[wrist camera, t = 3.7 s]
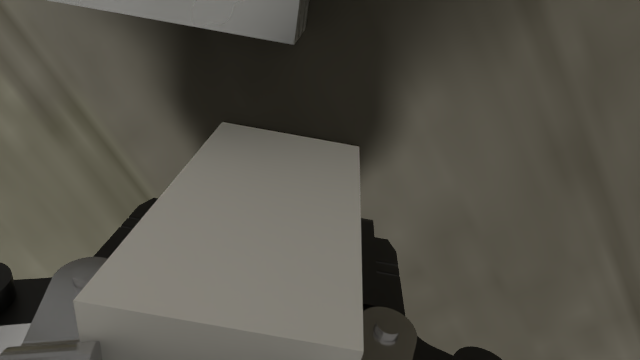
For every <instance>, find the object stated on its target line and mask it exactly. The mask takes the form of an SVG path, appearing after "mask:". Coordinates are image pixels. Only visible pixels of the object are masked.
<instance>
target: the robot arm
mask: <svg viewBox="0 0 640 360" xmlns="http://www.w3.org/2000/svg"><path fill="white" fill-rule="evenodd" d="M157 199H158V198H153V199H151V200H149V201H147V202H145V203H143V204H141V205H139V206H138V207H137V208H136V209H135V211H134V212H133V213H132V214H131V215H130V216H129V219H128V218H127V220H126V221H125V222H124V223H123V224H122V226H121V227H119V228H118V230H117V231H116V232H115V233H114V234H113V235H112V236H111V237H110V239H109V240H108V241H107V242H106V243H105V244H104V245H103V246H102V248H101V249H100V250H99V251H98V252H97V253H96V254H95V255H94V257H87V258H82V259H78V260H75V261H72V262H70V263H68V264H66V265H64V266H63V267H61V268H60V269H59V270H58V271H57V272H56V273H55V274H54V276H53V277H52V278H40V279H23V280H13V276H12V272H11V270H10V268H9V267H8V266H7V265H5V264H3V263H0V360H102V354H101V346H100V341H85V342H80V340H79V334H78V328H77V322H76V315H75V309H74V303H73V300H74V299H75V298H76V296H77V295H78V294H79V293H80V292H81V290H82V289H83V288H84V287H85V286H86V284H87V283H88V282H89V281H90V280H91V278H92V277H93V276H94V275H95V274H96V272H97V271H98V270H99V269H100V268H101V266H102V265H103V264H104V263H105V262H106V260H107V259H108V258H109V257H110V256H111V254H112V253H113V252H114V251H115V250H116V248H117V247H118V246H119V245H120V244H121V242H122V241H123V240H124V239H125V238H126V237H127V235H128V234H129V233H130V232H131V231H132V229H133V228H134V227H135V226H136V225H137V223H138V222H139V221H140V220H141V219H142V217H143V216H144V215H145V214H146V213H147V211H148V210H149V209H150V208H151V207H152V205H153V204H154V203H155V202H156V201H157ZM361 249H362V296H363V343H364V352H363V355H362V359H361V360H502V359H501V358H499V357H498V356H496V355H495V354H493V353H491V352H490V351H487V350H485V349H482V348H478V347H464V348H461V349H459V350H458V351H457V352H456V353H455V354H454V356H453V355H450V354H448V353H446V352H444V351H442V350H439V349H437V348H435V347H433V346H431V345H429V344H427V343H426V342H424V341H423V340H421V339H420V338H419V337H418V336H417V333H416V330H415V328H414V326H413V324H412V323H411V322H410V321H409V320H408V319H407V318H406V317H405V311H404V304H403V297H402V290H401V283H400V277H399V269H398V262H397V255H396V251H395V249H394V248H393V247H392V245H391V244H390V242H389V241H388V240H387V239H381V238H375V237H374V226H373V220H369V219H363V218H361Z"/></svg>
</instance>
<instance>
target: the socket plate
mask: <svg viewBox="0 0 640 360" xmlns="http://www.w3.org/2000/svg"><path fill="white" fill-rule="evenodd" d="M49 1H54V2H60V3H65V4H71V5H76V6H82V7H87V8H93V9H98V10H104V11H109V12H115V13H121V14H126V15H132V16H137V17H143V18H148V19H154V20H159V21H165V22H170V23H176V24H181V25H187V26H193V27H198V28H204V29H209V30H215V31H220V32H226V33H231V34H237V35H242V36H248V37H253V38H259V39H264V40H270V41H276V42H281V43H287V44H292V45H294V44H295V43H296V41H297V40H298V39H299V37H300V36H301V35H302V33H303V32H304V31H305V29H306V21H307V14H308V7H309V0H49Z"/></svg>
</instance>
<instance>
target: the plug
mask: <svg viewBox="0 0 640 360" xmlns="http://www.w3.org/2000/svg"><path fill="white" fill-rule="evenodd" d="M73 303H74V309H75V315H76V322H77V328H78V334H79V340H80V342H85V341H100V346H101V354H102V360H361V359H362V355H363V352H364V343H363V296H362V249H361V202H360V156H359V146H353V145H348V144H342V143H337V142H331V141H326V140H320V139H315V138H309V137H303V136H298V135H292V134H287V133H281V132H276V131H270V130H264V129H259V128H253V127H248V126H242V125H237V124H231V123H226V122H222V123H221V124H220V125H219V126H218V128H217V129H216V130H215V131H214V132H213V134H212V135H211V136H210V137H209V138H208V140H207V141H206V142H205V143H204V144H203V146H202V147H201V148H200V149H199V150H198V151H197V153H196V154H195V155H194V156H193V157H192V159H191V160H190V161H189V162H188V163H187V165H186V166H185V167H184V168H183V169H182V171H181V172H180V173H179V174H178V175H177V177H176V178H175V179H174V180H173V181H172V183H171V184H170V185H169V186H168V187H167V189H166V190H165V191H164V192H163V193H162V195H161V196H160V197H159V198H158V199H157V201H156V202H155V203H154V204H153V205H152V207H151V208H150V209H149V210H148V211H147V213H146V214H145V215H144V216H143V217H142V219H141V220H140V221H139V222H138V223H137V225H136V226H135V227H134V228H133V229H132V231H131V232H130V233H129V234H128V235H127V237H126V238H125V239H124V240H123V241H122V242H121V244H120V245H119V246H118V247H117V248H116V250H115V251H114V252H113V253H112V254H111V256H110V257H109V258H108V259H107V260H106V262H105V263H104V264H103V265H102V266H101V268H100V269H99V270H98V271H97V272H96V274H95V275H94V276H93V277H92V278H91V280H90V281H89V282H88V283H87V284H86V286H85V287H84V288H83V289H82V290H81V292H80V293H79V294H78V295H77V296H76V298H75V299H74V300H73Z"/></svg>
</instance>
